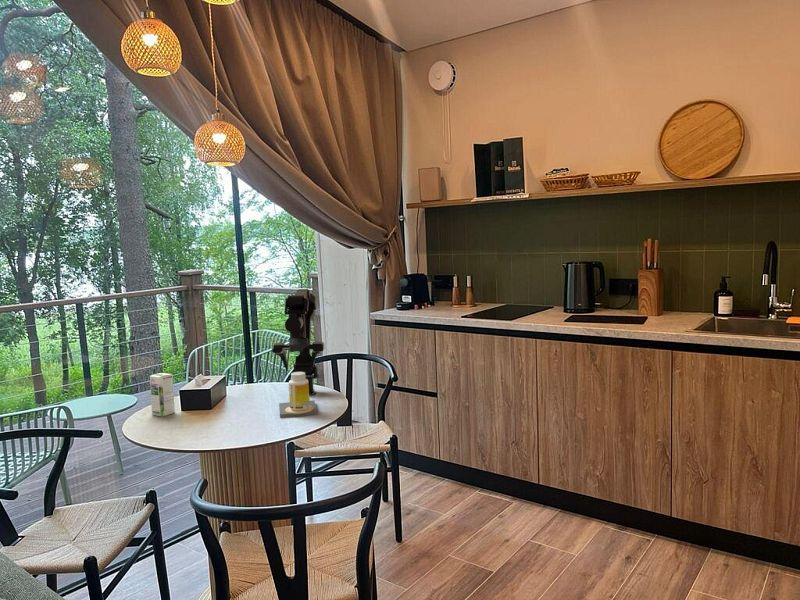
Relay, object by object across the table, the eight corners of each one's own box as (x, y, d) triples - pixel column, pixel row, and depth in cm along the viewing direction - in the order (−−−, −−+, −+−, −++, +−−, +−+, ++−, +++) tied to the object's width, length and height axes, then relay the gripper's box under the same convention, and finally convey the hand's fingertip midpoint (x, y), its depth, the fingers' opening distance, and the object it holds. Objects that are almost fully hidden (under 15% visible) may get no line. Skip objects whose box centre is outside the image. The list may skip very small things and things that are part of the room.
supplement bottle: (313, 407, 209) (312, 372, 208) (301, 412, 203) (299, 376, 202) (298, 404, 213) (296, 370, 211) (285, 410, 207) (284, 374, 205)
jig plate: (279, 406, 217) (279, 402, 216) (314, 403, 219) (314, 399, 219) (279, 418, 202) (279, 414, 201) (317, 415, 204) (317, 411, 204)
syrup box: (151, 415, 210) (148, 375, 208) (164, 410, 215) (162, 372, 213) (162, 417, 207) (159, 377, 205) (175, 412, 212) (173, 373, 211)
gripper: (268, 332, 208) (270, 375, 209) (321, 331, 209) (322, 373, 210) (273, 328, 219) (275, 369, 220) (323, 326, 220) (324, 367, 222)
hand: (299, 369), depth 218 cm, fingers open, 9 cm apart
